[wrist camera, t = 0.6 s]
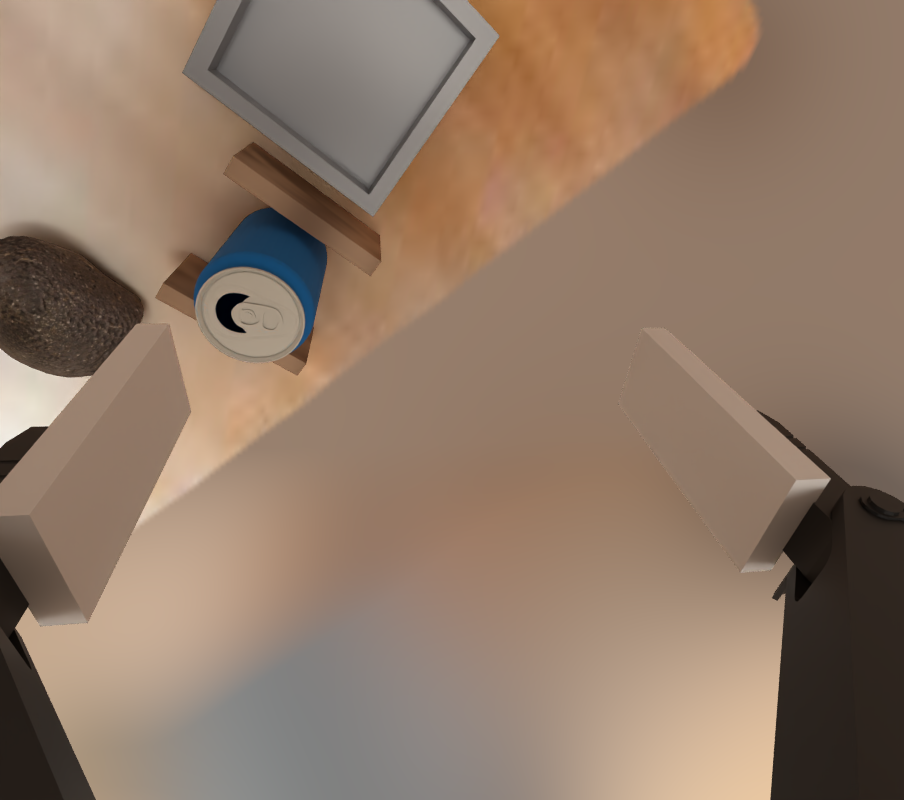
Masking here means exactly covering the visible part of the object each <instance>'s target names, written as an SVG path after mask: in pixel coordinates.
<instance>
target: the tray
mask: <svg viewBox="0 0 904 800" xmlns="http://www.w3.org/2000/svg"><path fill="white" fill-rule="evenodd" d="M498 38H499V35H498V33H497V32H496V31H495V30H494V29H493V28H492V27H491V26H490V25H489V24H488V23H487V22H486V20H485V19H484V18H483V17H482V16H481V15H480V14H479V13H478V12H477V11H476V10H475V9H474V7H473V6H472V5H471V4H470V3H469V2H468V1H467V0H217V1H216V3H215V5H214V7H213V9H212V11H211V14H210V16H209V18H208V20H207V22H206V24H205V26H204V28H203V30H202V32H201V35H200V37H199V39H198V41H197V43H196V45H195V47H194V49H193V51H192V53H191V56H190V58H189V60H188V62H187V64H186V66H185V68H184V70H183V72H182V73H183V74H184V75H186V76H187V77H188V78H190V79H191V80H192V81H194V82H195V83H196V84H198V85H199V86H200V87H202V88H203V89H204V90H206V91H207V92H208V93H210V94H211V95H212V96H214V97H215V98H216V99H217V100H219V101H220V102H221V103H223V104H224V105H225V106H227V107H228V108H229V109H231V110H232V111H233V112H235V113H236V114H237V115H239V116H240V117H241V118H243V119H244V120H245V121H247V122H248V123H249V124H251V125H252V126H253V127H255V128H256V129H257V130H259V131H260V132H261V133H263V134H264V135H265V136H267V137H268V138H269V139H271V140H272V141H273V142H274V143H276V144H277V145H278V146H280V147H281V148H282V149H284V150H285V151H286V152H288V153H289V154H290V155H292V156H293V157H294V158H296V159H297V160H298V161H300V162H301V163H302V164H304V165H305V166H306V167H308V168H309V169H310V170H312V171H313V172H314V173H316V174H317V175H318V176H320V177H321V178H322V179H324V180H325V181H326V182H328V183H329V184H330V185H331V186H333V187H334V188H335V189H337V190H338V191H339V192H341V193H342V194H343V195H345V196H346V197H347V198H349V199H350V200H351V201H353V202H354V203H355V204H357V205H358V206H359V207H361V208H362V209H363V210H365V211H366V212H367V213H369V214H370V215H371V216H374V215H375V213H376V212H377V211H378V209H379V208H380V206H381V205H382V203H383V202H384V201H385V199H386V198H387V196H388V195H389V193H390V192H391V191H392V189H393V188H394V186H395V185H396V183H397V182H398V181H399V179H400V178H401V176H402V175H403V173H404V172H405V171H406V169H407V168H408V166H409V165H410V163H411V162H412V161H413V159H414V158H415V156H416V155H417V153H418V152H419V151H420V149H421V148H422V146H423V145H424V143H425V142H426V141H427V139H428V138H429V136H430V135H431V133H432V132H433V131H434V129H435V128H436V126H437V125H438V123H439V122H440V121H441V119H442V118H443V116H444V115H445V113H446V112H447V110H448V109H449V108H450V106H451V105H452V103H453V102H454V100H455V99H456V98H457V96H458V95H459V93H460V92H461V90H462V89H463V88H464V86H465V85H466V83H467V82H468V80H469V79H470V78H471V76H472V75H473V73H474V72H475V70H476V69H477V68H478V66H479V65H480V63H481V62H482V60H483V59H484V58H485V56H486V55H487V53H488V52H489V50H490V49H491V48H492V46H493V45H494V43H495V42H496V40H497V39H498Z"/></svg>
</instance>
